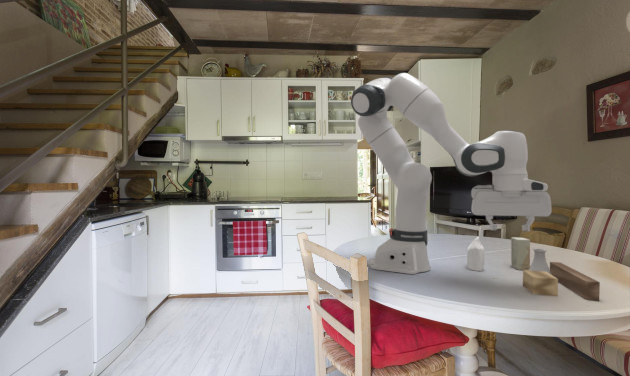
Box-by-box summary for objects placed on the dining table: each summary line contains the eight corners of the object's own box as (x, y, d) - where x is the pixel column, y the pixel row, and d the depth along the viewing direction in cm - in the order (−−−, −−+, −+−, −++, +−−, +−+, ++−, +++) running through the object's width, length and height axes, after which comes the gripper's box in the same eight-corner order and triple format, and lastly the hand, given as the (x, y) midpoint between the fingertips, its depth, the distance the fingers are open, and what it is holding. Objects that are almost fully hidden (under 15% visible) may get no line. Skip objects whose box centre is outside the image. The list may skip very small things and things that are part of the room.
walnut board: (585, 299, 80) (586, 281, 80) (549, 276, 99) (549, 261, 99) (599, 300, 79) (599, 282, 79) (560, 277, 98) (560, 262, 98)
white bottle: (464, 234, 112) (480, 235, 111) (464, 266, 112) (480, 266, 111) (471, 237, 106) (487, 238, 105) (470, 270, 106) (487, 271, 105)
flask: (559, 282, 94) (559, 251, 93) (542, 284, 92) (543, 252, 91) (536, 275, 101) (536, 246, 100) (520, 277, 99) (520, 247, 98)
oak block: (532, 294, 84) (533, 277, 84) (522, 286, 91) (523, 270, 91) (557, 296, 83) (558, 279, 82) (545, 287, 89) (545, 271, 89)
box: (530, 270, 106) (530, 240, 106) (517, 269, 107) (517, 239, 107) (523, 266, 111) (523, 237, 111) (510, 265, 112) (510, 236, 112)
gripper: (473, 185, 88) (473, 231, 88) (554, 184, 82) (554, 233, 83) (468, 184, 94) (468, 227, 94) (544, 184, 88) (543, 230, 89)
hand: (509, 230), depth 89 cm, fingers open, 7 cm apart
